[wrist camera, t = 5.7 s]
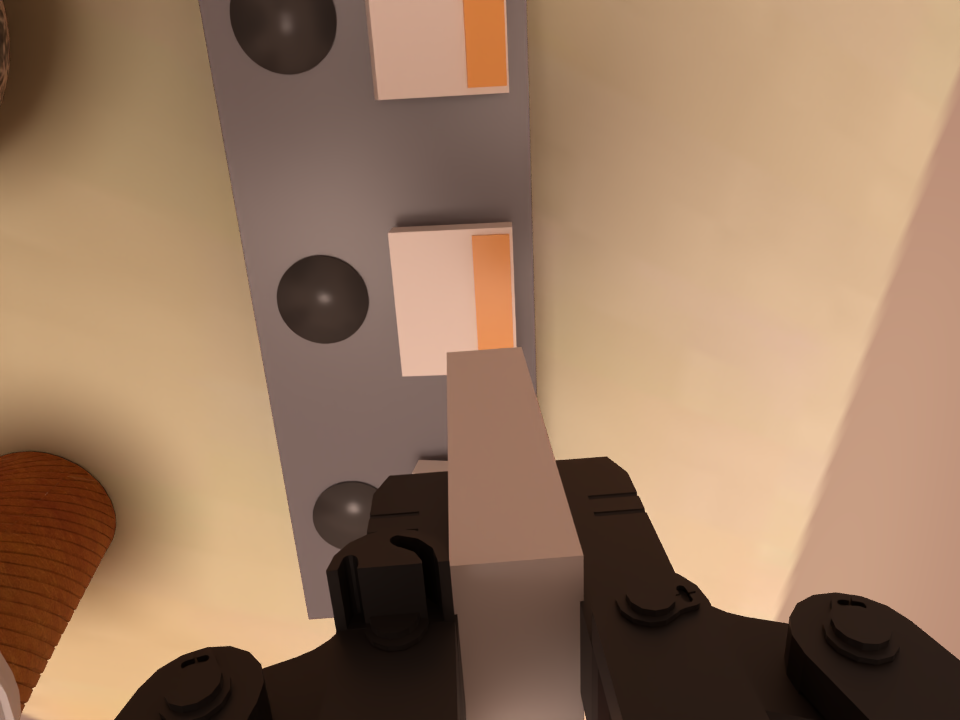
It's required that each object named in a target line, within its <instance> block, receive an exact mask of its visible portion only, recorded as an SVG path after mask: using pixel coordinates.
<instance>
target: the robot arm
mask: <svg viewBox="0 0 960 720" xmlns="http://www.w3.org/2000/svg"><path fill="white" fill-rule="evenodd" d="M447 429H448V471H442V472H429V473H416V474H403V475H390V476H388V478H387V479H386V480H385V481H384V482H383V483H382V485H381V486H380V487H379V488H378V489H377V491H376V492H375V493H374V494H373V499H372V505H371V510H370V519H369V522H368V528H367V535H365V536H363V537H361V538H358V539H356V540H354V541H352V542H350V543H348V544H347V545H346V546H345V547H344V548H342V549H341V550H340V551H339V552H338V553H337V554H335V555H334V557H333V558H332V560H331V562H330V564H329V566H328V568H327V570H326V575H327V581H328V586H329V592H330V598H331V603H332V609H333V615H334V620H335V626H336V634H335V635H334V636H333V637H332V638H331V639H330V640H328V641H327V642H325V643H324V644H322V645H321V646H319V647H318V648H316V649H314V650H312V651H310V652H307V653H305V654H303V655H301V656H298V657H296V658H293V659H290V660H287V661H284V662H281V663H278V664H275V665H272V666H269V667H266V668H263V669H262V666H261V664H260V663H259V662H258V661H257V660H256V659H255V658H254V656H253V655H252V654H251V653H250V652H248V651H244V650H241V649H238V648H235V647H231V646H223V647H207V648H203V649H200V650H197V651H194V652H191V653H188V654H185V655H182V656H180V657H178V658H177V659H175V660H173V661H172V662H170V663H168V664H167V665H165V666H163V667H162V668H160V669H158V670H157V671H156V672H155V673H154V674H153V675H152V676H151V677H150V678H149V679H148V680H147V681H146V682H145V683H144V684H143V685H142V686H141V687H140V688H139V689H138V690H137V691H136V693H135V694H134V695H133V696H132V698H131V699H130V700H129V701H128V703H127V704H126V705H125V707H124V708H123V709H122V710H121V712H120V713H119V714H118V715H117V717H116V718H115V719H114V720H584V711H585V716H586V720H960V660H959V659H957V658H956V657H955V656H954V655H952V654H951V653H950V652H949V651H947V650H946V649H945V648H944V647H943V646H941V645H940V644H939V643H938V642H936V641H935V640H934V639H933V638H931V637H930V636H929V635H928V634H926V633H925V632H924V631H923V630H922V629H920V628H919V627H918V626H917V625H915V624H914V623H913V622H912V621H910V620H909V619H907V618H906V617H904V616H902V615H901V614H899V613H898V612H896V611H895V610H893V609H891V608H890V607H888V606H886V605H883V604H881V603H878V602H875V601H873V600H870V599H867V598H864V597H862V596H856V595H849V594H842V593H827V594H818V595H812V596H811V597H808V598H807V599H805V600H803V601H801V602H799V603H797V605H796V606H795V608H794V610H793V612H792V614H791V616H790V617H789V624H787V623H781V622H775V621H768V620H762V619H756V618H749V617H744V616H740V615H736V614H731V613H727V612H725V611H722V610H720V609H717V608H715V607H712V606H711V604H710V602H709V600H708V599H707V598H706V596H705V595H704V594H703V593H702V591H701V590H700V589H699V588H698V586H697V585H695V584H694V583H692V582H691V581H689V580H687V579H686V578H684V577H682V576H681V575H679V574H677V573H675V572H674V569H673V567H672V565H671V563H670V561H669V559H668V557H667V555H666V553H665V550H664V548H663V546H662V544H661V542H660V540H659V538H658V536H657V534H656V531H655V529H654V527H653V525H652V523H651V521H650V519H649V517H648V515H647V513H645V509H644V506H643V504H642V502H641V500H640V498H639V496H637V491H636V489H635V487H634V485H633V483H632V481H631V479H630V477H629V475H628V473H627V472H626V471H625V470H624V469H622V468H621V467H620V466H618V465H617V464H616V463H614V462H613V461H612V460H611V459H609V458H608V457H595V458H582V459H569V460H556V461H555V458H554V455H553V451H552V448H551V445H550V441H549V438H548V434H547V431H546V428H545V424H544V421H543V418H542V414H541V411H540V408H539V404H538V401H537V398H536V394H535V391H534V387H533V384H532V381H531V377H530V374H529V371H528V367H527V364H526V361H525V357H524V354H523V350H522V347H514V348H500V349H486V350H473V351H459V352H447Z"/></svg>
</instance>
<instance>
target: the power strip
mask: <svg viewBox="0 0 960 720" xmlns="http://www.w3.org/2000/svg"><path fill="white" fill-rule="evenodd" d="M198 1H199V6H200V12H201V18H202V23H203V29H204V34H205V40H206V46H207V51H208V57H209V62H210V68H211V74H212V79H213V85H214V90H215V96H216V102H217V107H218V113H219V119H220V124H221V130H222V135H223V141H224V147H225V152H226V158H227V163H228V169H229V175H230V180H231V186H232V191H233V197H234V203H235V208H236V214H237V219H238V225H239V231H240V236H241V242H242V247H243V253H244V259H245V264H246V270H247V275H248V281H249V287H250V292H251V298H252V304H253V309H254V315H255V320H256V326H257V332H258V337H259V343H260V348H261V354H262V360H263V365H264V371H265V376H266V382H267V388H268V393H269V399H270V404H271V410H272V416H273V421H274V427H275V432H276V438H277V444H278V449H279V455H280V461H281V466H282V472H283V477H284V483H285V489H286V494H287V500H288V505H289V511H290V517H291V522H292V528H293V533H294V539H295V545H296V550H297V556H298V561H299V567H300V573H301V578H302V584H303V589H304V595H305V601H306V606H307V612H308V617H309V619H321V618H334V615H333V609H332V603H331V598H330V592H329V586H328V581H327V575H326V570H327V568H328V566H329V564H330V562H331V560H332V558H333V557H334V555H335V554H337V553H338V552H339V551H340V550H341V549H342V548H344V547H345V546H346V545H347V544H348V543H350V542H352V541H354V540H356V539H358V538H361V537H363V536H365V535H367V528H368V522H369V519H370V510H371V505H372V499H373V494H374V493H375V492H376V491H377V489H378V488H379V487H380V486H381V485H382V483H383V482H384V481H385V480H386V479H387V478H388V476H390V475H403V474H412V472H413V470H414V468H415V466H416V464H417V462H418V460H438V461H448V429H447V375H432V376H403V377H402V368H401V358H400V348H399V339H398V329H397V319H396V309H395V299H394V289H393V279H392V269H391V260H390V250H389V240H388V232H389V231H390V230H391V229H392V228H393V227H412V226H433V225H454V224H476V223H497V222H512V235H513V263H514V291H515V318H516V346H517V347H522V350H523V354H524V357H525V361H526V364H527V367H528V371H529V374H530V377H531V381H532V384H533V387H534V391H535V394H536V398H537V387H536V348H535V309H534V271H533V232H532V193H531V154H530V116H529V77H528V38H527V0H506V15H507V43H508V71H509V93H495V94H478V95H460V96H443V97H425V98H407V99H390V100H375V97H374V87H373V77H372V67H371V57H370V47H369V37H368V27H367V17H366V8H365V0H198Z"/></svg>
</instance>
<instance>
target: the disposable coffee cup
mask: <svg viewBox="0 0 960 720" xmlns="http://www.w3.org/2000/svg"><path fill="white" fill-rule="evenodd" d="M115 528H116V521H115V513H114V509H113V506H112V503H111V500H110V499H109V497H108V495H107V493H106V492H105V490H104V488H103V487H102V486H101V485H100V483H99V482H98V481H97V480H96V479H95V478H94V477H92V476H91V475H90V474H89V473H88V472H87V471H85V470H84V469H82V468H81V467H80V466H78V465H77V464H74V463H72V462H70V461H68V460H65V459H63V458H61V457H58V456H55V455H51V454H47V453H40V452H31V451H30V452H18V453H11V454H7V455H3V456H1V457H0V720H20V717H21V713H22V711H23V709H24V706H25V705H24V703H26V702H28V700H29V698H30V696H31V693H32V691H33V690H32V688H34V687H36V685H37V682H38V680H39V678H40V676H41V675H40V674H41V673H43V671H44V669H45V667H46V665H47V663H48V661H47V660H48V659H50V658H51V656H52V654H53V651H54V649H55V648H54V647H55V646H57V645H58V642H59V640H60V638H61V636H62V635H61V634H63V633H64V631H65V629H66V627H67V625H68V623H67V622H69V621H70V619H71V617H72V615H73V613H74V611H73V610H75V609H76V608H77V606H78V604H79V602H80V600H79V599H81V598H82V596H83V594H84V592H85V590H86V588H87V587H88V585H89V583H90V581H91V578H92V577H93V575H94V573H95V571H96V568H97V567H98V565H99V563H100V561H101V559H102V558H103V556H104V554H105V552H106V550H107V549H108V547H109V545H110V543H111V541H112V539H113V537H114V532H115Z"/></svg>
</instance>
